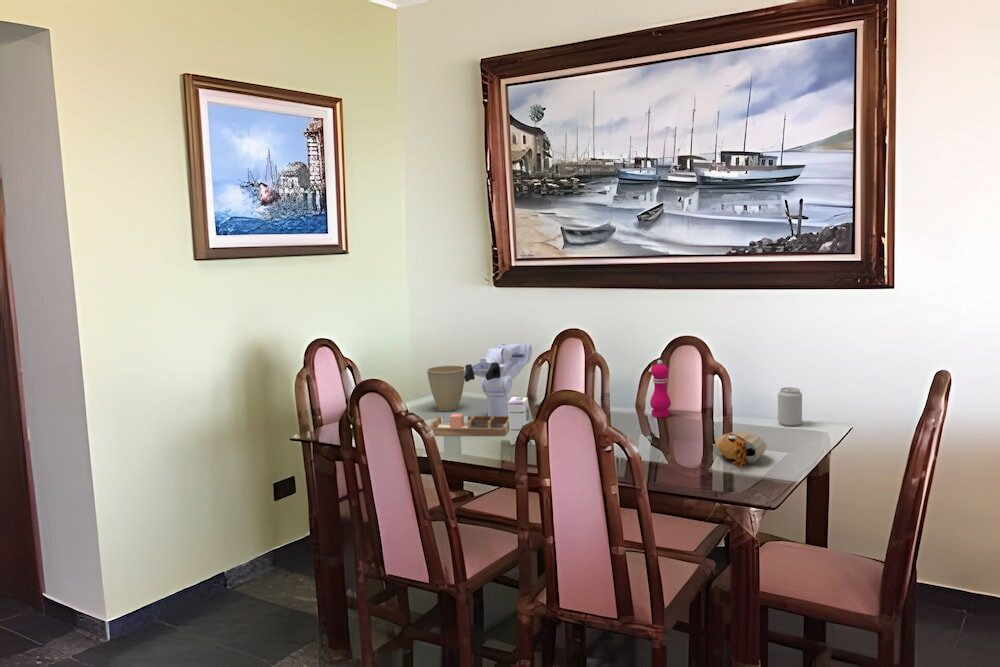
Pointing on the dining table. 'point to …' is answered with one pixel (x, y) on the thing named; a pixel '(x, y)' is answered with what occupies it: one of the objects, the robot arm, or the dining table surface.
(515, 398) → the syrup box
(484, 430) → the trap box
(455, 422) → the coral block
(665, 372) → the pepper mill
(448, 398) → the plant pot
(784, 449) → the dining table surface
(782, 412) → the can
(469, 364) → the robot arm
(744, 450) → the nautilus
